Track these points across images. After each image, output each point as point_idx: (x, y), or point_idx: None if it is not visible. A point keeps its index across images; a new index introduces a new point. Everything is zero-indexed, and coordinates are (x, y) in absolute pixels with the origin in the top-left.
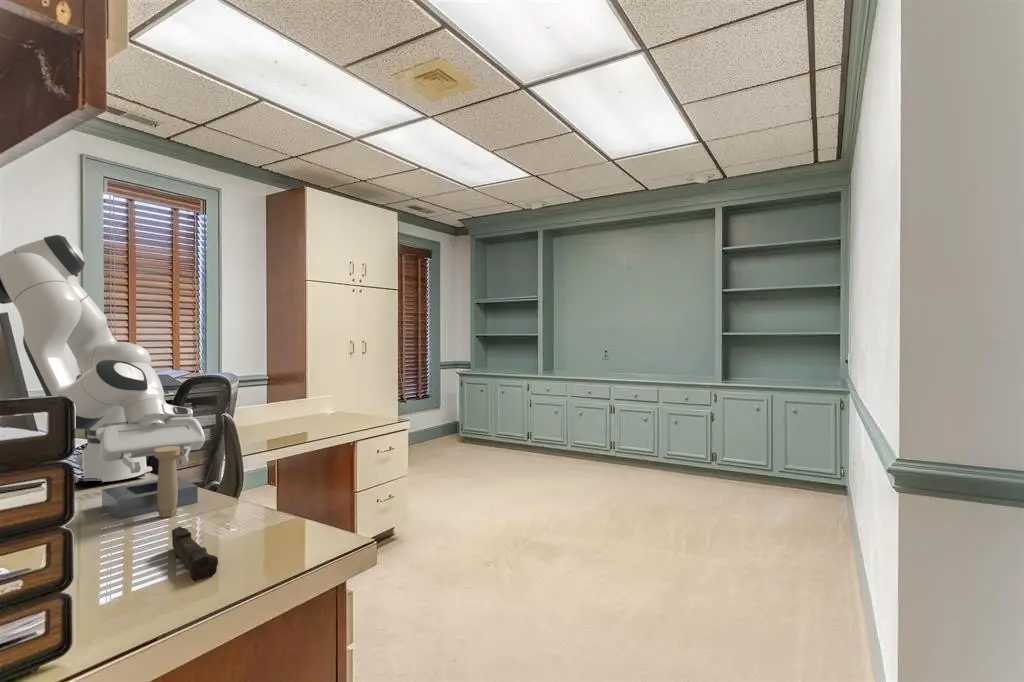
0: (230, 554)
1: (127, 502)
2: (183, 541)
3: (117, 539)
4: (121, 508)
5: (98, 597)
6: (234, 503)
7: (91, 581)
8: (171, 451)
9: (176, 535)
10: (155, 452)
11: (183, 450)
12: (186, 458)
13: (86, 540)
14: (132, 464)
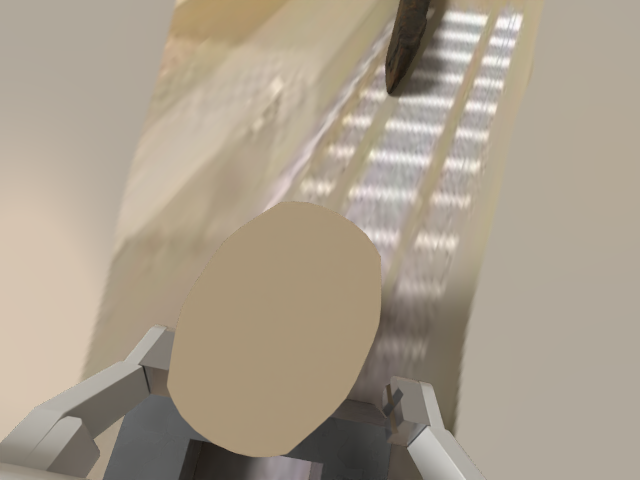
0: (354, 3)
1: (361, 417)
2: (420, 9)
3: (431, 234)
4: (372, 414)
5: (519, 33)
6: (132, 250)
7: (513, 84)
8: (312, 206)
9: (425, 19)
10: (378, 301)
11: (87, 438)
12: (151, 342)
13: (471, 287)
14: (438, 413)
